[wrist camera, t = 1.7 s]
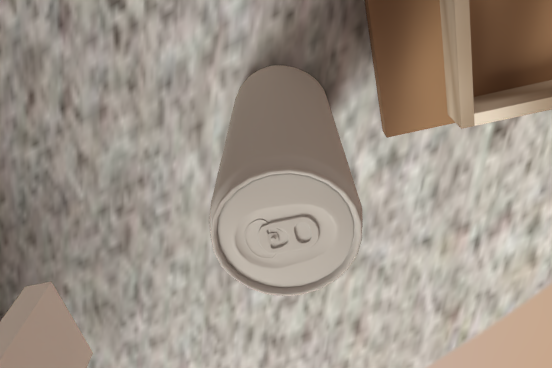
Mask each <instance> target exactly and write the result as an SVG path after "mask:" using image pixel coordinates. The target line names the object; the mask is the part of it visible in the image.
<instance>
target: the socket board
mask: <svg viewBox="0 0 552 368" xmlns="http://www.w3.org/2000/svg"><path fill="white" fill-rule="evenodd" d="M365 7H366V14H367V21H368V28H369V36H370V43H371V50H372V57H373V64H374V71H375V78H376V86H377V93H378V100H379V107H380V114H381V121H382V128H383V132H384V134H385V135H386V137H391V136H396V135H401V134H405V133H410V132H415V131H419V130H424V129H428V128H433V127H438V126H442V125H447V124H452V123H457V124H458V125H459V127H460V128H461V129H462V128H467V127H471V126H476V125H481V124H485V123H490V122H495V121H499V120H504V119H509V118H513V117H518V116H523V115H527V114H532V113H537V112H541V111H546V110H551V109H552V0H365Z"/></svg>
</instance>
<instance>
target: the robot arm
mask: <svg viewBox="0 0 552 368" xmlns="http://www.w3.org/2000/svg"><path fill="white" fill-rule="evenodd" d="M92 354H93V352H92V350H91V349H90V347H89V345H88V343H87V342H86V340H85V338H84V337H83V335H82V333H81V331H80V330H79V328H78V326H77V325H76V323H75V321H74V319H73V318H72V316H71V314H70V313H69V311H68V309H67V307H66V306H65V304H64V302H63V301H62V299H61V297H60V295H59V294H58V292H57V290H56V289H55V287H54V285H53V283H52V282H46V283H41V284H36V285H31V286H25V288H24V289H23V291H22V292H21V293H20V295H19V296H18V298H17V299H16V300H15V302H14V303H13V304H12V306H11V307H10V309H9V310H8V311H7V313H6V314H5V316H4V317H3V318H2V320H1V321H0V368H87V365H88V363H89V361H90V359H91V356H92Z"/></svg>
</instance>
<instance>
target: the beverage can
mask: <svg viewBox="0 0 552 368" xmlns="http://www.w3.org/2000/svg"><path fill="white" fill-rule="evenodd" d="M209 225H210V231H211V234H210V235H211V241H212V246H213V251H214V253H215V255H216V257H217V259H218V260H219V262H220V264H221V266H222V267H223V268H224V269H225V270H226V271H227V272H228V273H229V274H230V276H231V277H232V278H233V279H235V280H237V281H238V282H240V283H241V284H243V285H245V286H246V287H248V288H250V289H253V290H256V291H259V292H262V293H265V294H271V295H279V296H290V295H302V294H306V293H309V292H312V291H316V290H319V289H321V288H323V287H325V286H327V285H328V284H330V283H332V282H334V281H335V280H337V279H338V278H339V277H340V276H341V275H342V274H343V273H344V272H345V271H347V270H348V268H349V267H350V265H351V264H352V262H353V261H354V259H355V258H356V256H357V254H358V251H359V247H360V244H361V241H362V206H361V203H360V200H359V197H358V194H357V190H356V187H355V184H354V181H353V178H352V175H351V172H350V169H349V165H348V162H347V159H346V156H345V153H344V150H343V147H342V144H341V140H340V137H339V134H338V131H337V128H336V125H335V122H334V119H333V115H332V112H331V109H330V106H329V103H328V100H327V97H326V94H325V91H324V89H323V88H322V87H321V85H320V84H319V82H318V81H317V80H316V79H315V78H313V77H312V76H311V75H309V74H308V73H306V72H304V71H302V70H300V69H297V68H294V67H289V66H285V65H275V66H268V67H265V68H262V69H260V70H258V71H256V72H255V73H253V74H252V75H251V76H249V77H248V78H247V79H246V81H245V82H244V83H243V84H242V86H241V87H240V89H239V92H238V94H237V96H236V99H235V103H234V108H233V112H232V116H231V120H230V125H229V129H228V133H227V137H226V142H225V146H224V150H223V155H222V159H221V163H220V167H219V172H218V176H217V180H216V184H215V189H214V193H213V197H212V201H211V209H210V217H209Z"/></svg>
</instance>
